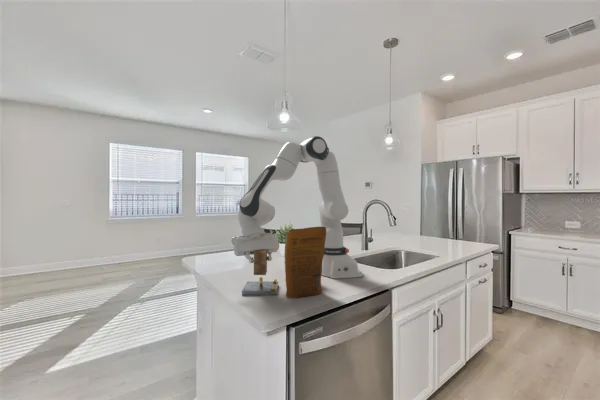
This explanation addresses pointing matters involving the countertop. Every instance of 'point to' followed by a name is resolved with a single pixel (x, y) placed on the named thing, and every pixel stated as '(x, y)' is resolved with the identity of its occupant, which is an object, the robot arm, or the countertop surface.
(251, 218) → the robot arm
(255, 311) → the countertop surface
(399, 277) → the countertop surface
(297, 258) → the pancake mix bag
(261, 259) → the brown wooden block
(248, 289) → the pin plate
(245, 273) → the countertop surface
